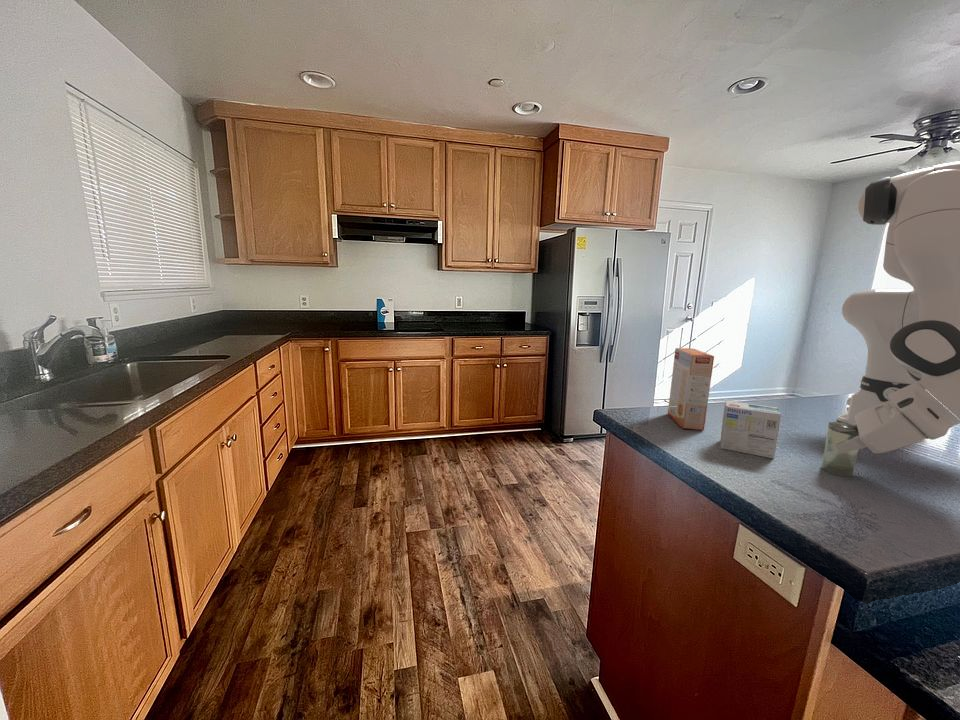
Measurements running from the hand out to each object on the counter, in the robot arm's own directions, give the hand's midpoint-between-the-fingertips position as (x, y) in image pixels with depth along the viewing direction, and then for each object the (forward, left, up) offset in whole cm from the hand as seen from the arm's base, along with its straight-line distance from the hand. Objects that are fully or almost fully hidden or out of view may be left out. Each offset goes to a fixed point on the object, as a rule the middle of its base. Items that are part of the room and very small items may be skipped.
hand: (837, 443), depth 78 cm
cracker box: (-11, -31, -6) cm, 34 cm away
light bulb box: (0, -15, -6) cm, 17 cm away
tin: (0, +1, -6) cm, 6 cm away
